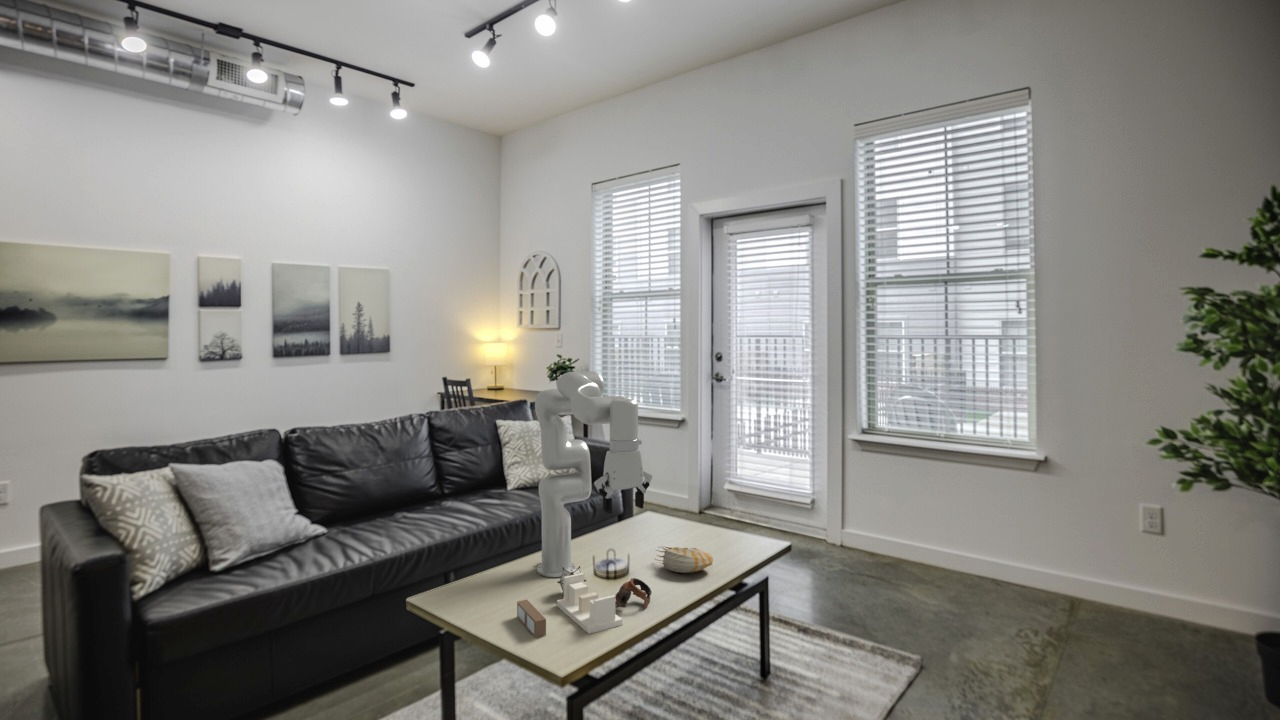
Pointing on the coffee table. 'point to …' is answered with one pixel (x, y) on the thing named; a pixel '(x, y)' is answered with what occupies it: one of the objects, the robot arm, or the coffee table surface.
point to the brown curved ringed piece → (626, 592)
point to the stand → (587, 606)
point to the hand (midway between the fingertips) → (623, 509)
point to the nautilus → (685, 559)
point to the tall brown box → (531, 618)
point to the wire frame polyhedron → (567, 573)
